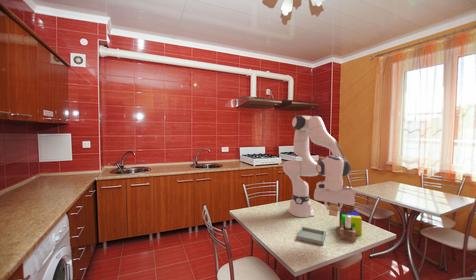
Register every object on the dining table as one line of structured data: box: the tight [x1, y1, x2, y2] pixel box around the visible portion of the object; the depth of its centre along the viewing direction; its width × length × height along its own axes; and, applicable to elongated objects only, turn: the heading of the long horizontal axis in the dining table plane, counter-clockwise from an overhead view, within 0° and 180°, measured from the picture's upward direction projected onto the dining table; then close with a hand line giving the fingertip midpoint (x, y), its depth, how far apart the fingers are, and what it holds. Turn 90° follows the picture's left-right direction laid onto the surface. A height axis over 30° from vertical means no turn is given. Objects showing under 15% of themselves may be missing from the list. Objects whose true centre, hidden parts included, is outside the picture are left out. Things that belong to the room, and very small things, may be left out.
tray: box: [296, 226, 327, 246], centre depth 118 cm, size 13×13×2 cm
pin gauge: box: [345, 215, 351, 230], centre depth 118 cm, size 3×3×12 cm
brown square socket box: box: [339, 225, 357, 242], centre depth 118 cm, size 8×8×5 cm
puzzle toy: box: [338, 210, 363, 236], centre depth 127 cm, size 10×10×10 cm
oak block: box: [328, 202, 339, 217], centre depth 114 cm, size 4×4×6 cm
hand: (333, 210), depth 114 cm, fingers closed on oak block, 4 cm apart
